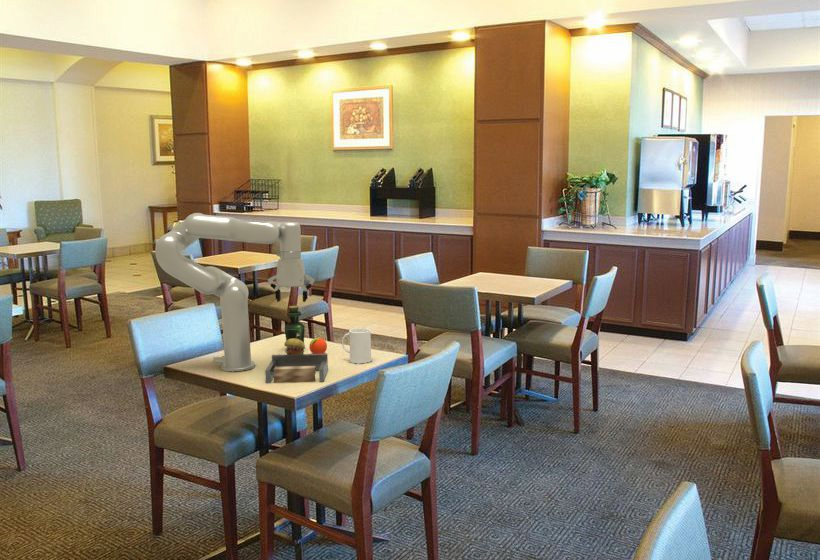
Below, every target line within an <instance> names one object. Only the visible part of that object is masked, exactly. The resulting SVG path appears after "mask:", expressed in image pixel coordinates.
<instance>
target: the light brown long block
mask: <svg viewBox="0 0 820 560" xmlns="http://www.w3.org/2000/svg"><path fill="white" fill-rule="evenodd" d="M316 373H317V371H316V366H288V367H275V368H274V376H273V383H276V382H281V383H310V382H311V383H313V382H315V381H316Z"/></svg>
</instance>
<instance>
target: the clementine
mask: <svg viewBox="0 0 820 560" xmlns="http://www.w3.org/2000/svg"><path fill="white" fill-rule="evenodd" d="M308 347H309V351H310V352H311V354H326V351H327V350H328V344H327V342H326V340H325V339H323V338H321V337H314V338H313V339H312V340H311V341H310V343H309V346H308Z"/></svg>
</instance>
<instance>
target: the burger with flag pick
mask: <svg viewBox="0 0 820 560" xmlns="http://www.w3.org/2000/svg"><path fill="white" fill-rule="evenodd" d="M297 336H299V334H298V333H297ZM283 345H284V347H286V350H287V348H288V347H290V348H292V349H288V350H287V351H286V352H285V354H286V355H288V354H305V350H304V349H305V346H306V345H305V342H304V343H303V342H302V341H301V340H299V339H297V337H296V339H295V338H291V339H288V340H286V339H285V342H284V344H283Z"/></svg>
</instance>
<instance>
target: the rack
mask: <svg viewBox="0 0 820 560" xmlns="http://www.w3.org/2000/svg"><path fill="white" fill-rule="evenodd" d="M328 356H329V355H328V353H323V354H313V353H303V354H288V355H287V354H272V355H271V360H270V363H269V364H268V366H267V367H266V368H265V373H264V374H265V375H264V376H265V384H271V382H272V381H273V380H274V378H273V376H274V368H275V367H288V366H316V372H318V377H319V383H324V382H325V379H326V377H327V374H328V371H329V364H328V363H329V360H328V358H329V357H328Z"/></svg>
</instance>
